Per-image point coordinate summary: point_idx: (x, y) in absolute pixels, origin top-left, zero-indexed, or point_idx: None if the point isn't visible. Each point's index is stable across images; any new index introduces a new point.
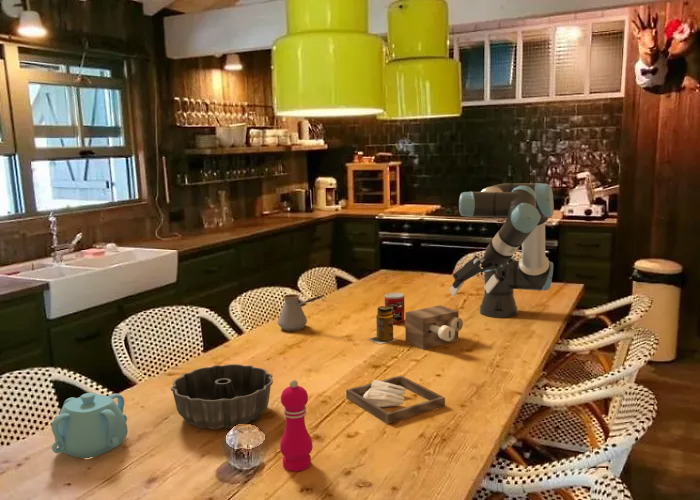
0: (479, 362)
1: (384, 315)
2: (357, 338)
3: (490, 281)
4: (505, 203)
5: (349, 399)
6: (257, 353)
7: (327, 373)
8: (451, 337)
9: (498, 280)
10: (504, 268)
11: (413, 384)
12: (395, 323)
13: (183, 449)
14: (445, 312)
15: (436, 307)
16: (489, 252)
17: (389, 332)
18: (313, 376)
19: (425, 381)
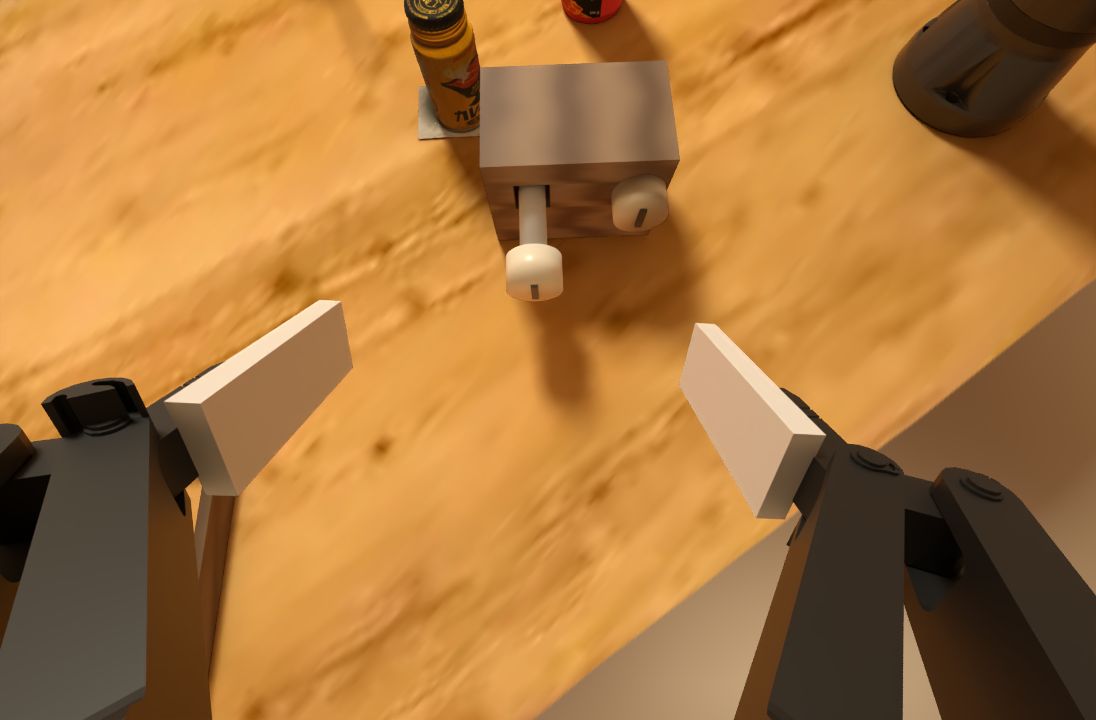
0: (570, 431)
1: (421, 42)
2: (401, 68)
3: (732, 399)
4: None
5: None
6: (111, 39)
7: (142, 256)
8: (545, 295)
9: (778, 517)
10: (994, 715)
11: (197, 527)
12: (577, 19)
13: None
14: (617, 147)
15: (632, 76)
16: None
17: (453, 108)
18: (98, 255)
19: (312, 469)
